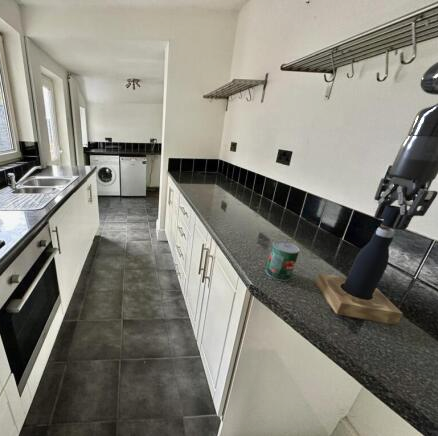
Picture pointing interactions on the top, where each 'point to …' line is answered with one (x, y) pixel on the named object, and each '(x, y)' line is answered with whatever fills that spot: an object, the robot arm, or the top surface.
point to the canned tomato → (282, 260)
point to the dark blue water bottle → (372, 258)
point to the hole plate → (357, 301)
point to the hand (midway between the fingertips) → (388, 223)
